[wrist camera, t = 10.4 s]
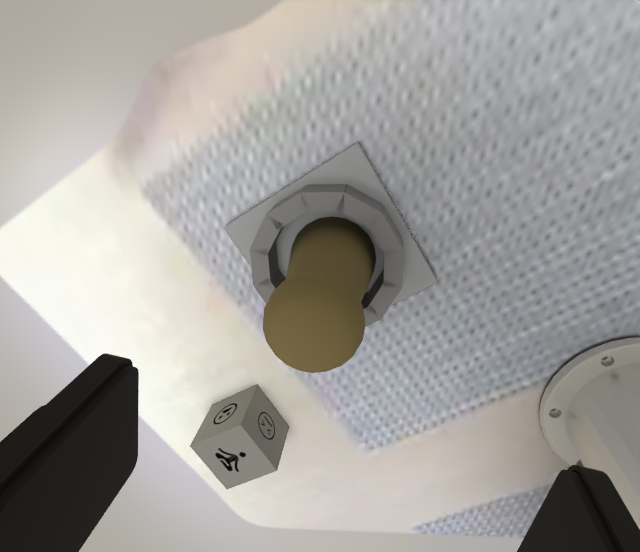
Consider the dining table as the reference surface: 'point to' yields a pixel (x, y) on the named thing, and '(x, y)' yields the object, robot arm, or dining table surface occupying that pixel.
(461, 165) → the dining table surface
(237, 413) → the dice cube
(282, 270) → the ring board
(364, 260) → the brown round-headed peg
